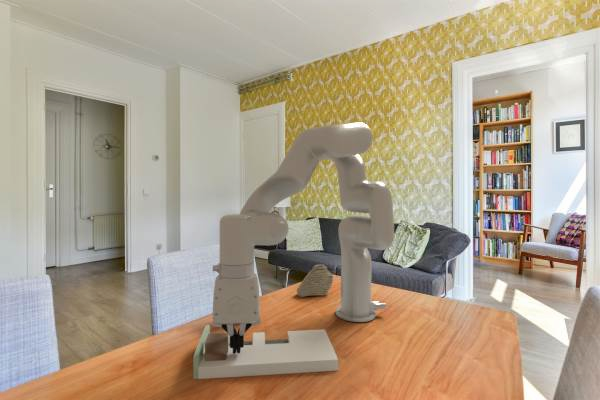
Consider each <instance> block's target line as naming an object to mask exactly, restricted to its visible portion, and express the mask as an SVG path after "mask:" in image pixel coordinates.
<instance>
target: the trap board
mask: <svg viewBox="0 0 600 400" xmlns="http://www.w3.org/2000/svg"><path fill="white" fill-rule="evenodd" d="M327 333H328V332H327V330H326V329H324V328H323V329H307V330H304V329H303V330H288V331H287V338H286V339H270V340H268V339H267V340H266V333H265V331H262V332H261V331H260V332H259V331H258V332H253V333H252V340H245V341H244V347H243V348H241V350H240V353H237V350H236V353H235V354H233V348H230V336H229V335H228V354H227V358H226V360H221V361H205V342H206V339H207V336H208V334H211V326H210V324H205V326H204V329H203V331H202V333H201V336H200V339H199V341H198V344H197V346H196V349H195V351H194V354H193V356H192V358H193V362H192V363H193V367H192V368H193V371H192V372H193V373H192V375H193V377H192V378H193V380H203V379H204V380H205V379H219V378H220V379H221V378H222V379H223V378H224V379H225V378H237V377H238V378H239V377H253V376H255V377H256V376H269V375H287V374H303V373H318V372H336V371H339V358H338V356H337V354H336V351H335V349H334V347H333V344H332V342H331V340H330V338H329V336H328V334H327Z"/></svg>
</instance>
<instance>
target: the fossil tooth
mask: <svg viewBox="0 0 600 400" xmlns="http://www.w3.org/2000/svg"><path fill="white" fill-rule="evenodd" d="M333 281H334V274H333V273H332V272H331V271H329V270H328V267H327V266H325V264H316V265H313V266H312V269H311V270H310V271H309V272H308V273H307V275H306V276H305V277H304V278H303V279H302V281H301V283H300V284H299V285H298V287H297V288H296V295H297V296H298V297H301V298H305V297H308V296H311V297H312V296H324V295H325V296H327V295H328V293H329V292H330V290H331V288H332V285H333Z"/></svg>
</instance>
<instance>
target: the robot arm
mask: <svg viewBox="0 0 600 400" xmlns="http://www.w3.org/2000/svg"><path fill="white" fill-rule="evenodd" d="M373 138H374V137H373V132H372V130H371V128H370V127H369V125H367V124H365V123H364V122H361V121H359V122H351V123H340V124H330V125H329V124H328V125H324V126H317V127H312V128H307V129H304V130H302V131H300V132H299V133H298V134H297V136H296V137H295V139H294V141H293V143H292V145H291V146H290V148H289V150H288V151H287V153H286V154H285V156H284V158H283V160H282V162H281V163H280V164H279V167H278V168H277V170H276V171H275V172H274V173H273V174H272V175H270V177H268V178H267V179H266V180H265V181H264V182H263V183H262V184H261V185H259V186H258V187H257V188H256V189H255V190H254V191H253V192H252V193H251V194H250V196H249V197H248V199H247V200H246V202H245V204H244V206H243V207H242V208H241V210H240V213H238V214H237V213H236V214H235V213H234V214H233V213H232V214H231V213H230V214H225V215H223V216H221V218H220V219H219V263H218V264H214V265H212V271H213V272H217V273H218V274H217V276H216V277H215V281H214V287H213V297H212V324H211V326H212V327H216V328H222V329H223V330H224V331H225V333H228V335H229V336H230V348H233V354H235V353H236V350H237V353H240V350H241V348H243V347H244V336H245V334H246V332H247V331H248V330H249V329H250V328H251V327H254V326H258V325H261V322H262V319H261V315H260V313H261V301H260V300H261V298H260V287H259V286H260V285H259V279H258V275H257V274H256V273H255V246H276V245H279V244H281V243H283V241H284V240H285V239H287V236H288V233H289V224H288V221H287V220H286V219H285V218H284V217H283V216H282V215H280V214H278V213H273V212H271V211H272V209H273V208H275V207H276V206H277V205H278V204H279V203H280V202H282V201H284V200H286V199H288V198H291V197H292V196H295V195H297V194H299V193H301V192H302V191H304V190H305V189H306V187H307V186H308V184H309V182H310V181H311V178H312V176H313V175H314V173H315V171H316V168H317V167H318V165H319V163H320V162H321V161H322V160H324V161H325V160H331V161H332V162H333V164H334V166H335V168H336V171H337V178H338V179H337V180H338V188H339V189H338V191H339V199H340V200H339V201H340V206H341V207H342V208H343V209H344V210H345V211H346V212H351V213H359V214H360V213H361V214H369V216H366V215H365V216H364V215H348V216H346V217H344V218H343V219H342V220H341V221H340V223H339V225H338V230H337V231H338V239H339V243H340V255H341V256H340V257H341V262H340V266H341V267H340V305H339V306H337V307H336V308H335V315H336V316H337V317H338V318H339V319H341V320H344V321H348V322H352V323H366V322H371V321H372V320H374V319H376V316H377V314H376V313H377V312H376V311H377V310H386V309H387V306H386V305H387V304H386V302H379V301H377V300H374V301H373V300H372V268H373V267H372V266H373V265H372V264H373V263H372V256H371V253H370V251H369V249H372V250H377V251H378V250H379V251H383V250H384V251H385V250H388V249H389V248H390V247H391V246H392V244H393V243H394V239H395V221H394V210H393V209H394V207H393V206H394V205H393V197H392V193H391V192H392V191H391V190H390V188H389V187H388V185H387V184H385V183H384V182H381V181H368V179H367V173H366V165H365V162H364V159H363V158H362V156H361V154H365V153H366V152H368V151H369V149H370V148H371V146H372V144H373ZM235 325H239V328H238V329H236V328H235Z"/></svg>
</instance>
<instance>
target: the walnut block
mask: <svg viewBox="0 0 600 400" xmlns="http://www.w3.org/2000/svg"><path fill="white" fill-rule="evenodd" d="M227 354H228V333H227V332H221V333H220V332H219V333H218V332H217V333H216V332H215V333H210V334H208V336H207V339H206V342H205V361H221V360H226V358H227Z"/></svg>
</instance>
